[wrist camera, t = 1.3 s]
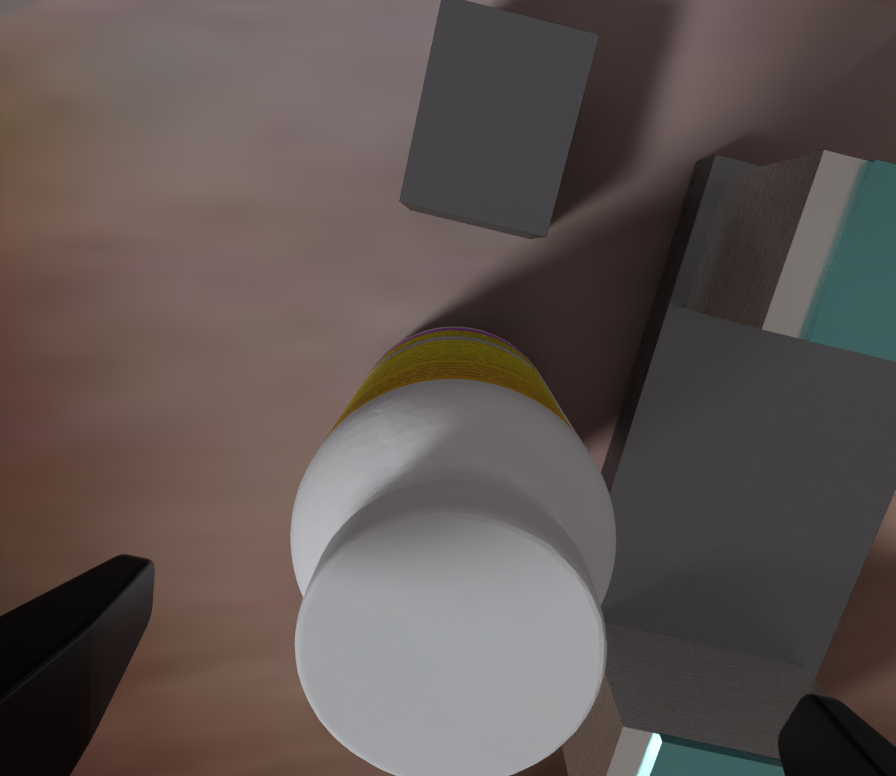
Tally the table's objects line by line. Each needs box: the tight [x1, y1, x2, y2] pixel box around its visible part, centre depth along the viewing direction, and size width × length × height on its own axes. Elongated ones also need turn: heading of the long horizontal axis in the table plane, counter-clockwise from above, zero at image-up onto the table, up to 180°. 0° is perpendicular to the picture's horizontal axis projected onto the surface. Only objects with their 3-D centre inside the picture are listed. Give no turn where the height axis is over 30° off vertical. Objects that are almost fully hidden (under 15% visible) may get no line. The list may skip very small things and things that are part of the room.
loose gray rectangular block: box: [399, 0, 599, 239], centre depth 18 cm, size 5×4×4 cm
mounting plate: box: [562, 150, 896, 776], centre depth 19 cm, size 20×9×7 cm, turn 167°
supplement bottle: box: [291, 326, 616, 776], centre depth 15 cm, size 7×7×13 cm
